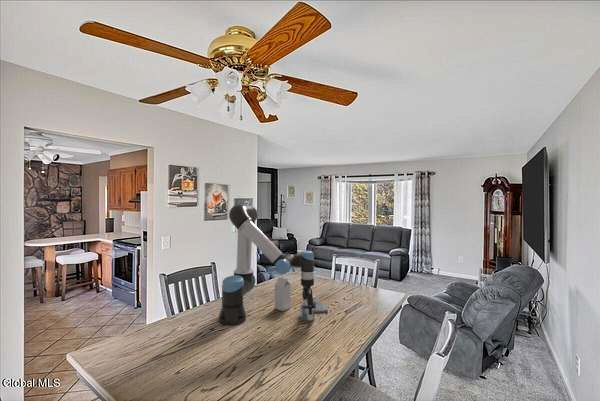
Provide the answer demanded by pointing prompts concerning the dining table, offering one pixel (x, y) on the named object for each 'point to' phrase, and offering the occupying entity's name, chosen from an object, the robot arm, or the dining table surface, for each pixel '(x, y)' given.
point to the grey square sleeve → (304, 312)
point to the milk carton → (282, 294)
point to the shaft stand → (318, 306)
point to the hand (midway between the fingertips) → (307, 315)
